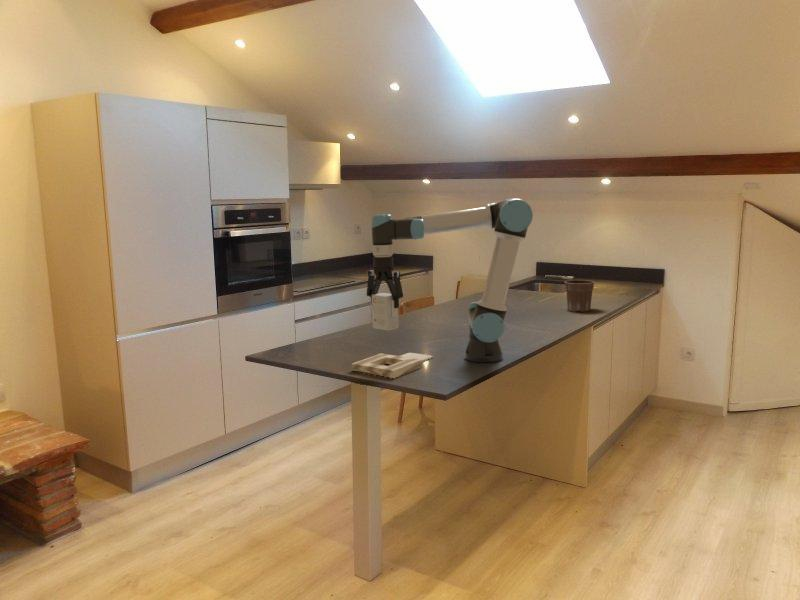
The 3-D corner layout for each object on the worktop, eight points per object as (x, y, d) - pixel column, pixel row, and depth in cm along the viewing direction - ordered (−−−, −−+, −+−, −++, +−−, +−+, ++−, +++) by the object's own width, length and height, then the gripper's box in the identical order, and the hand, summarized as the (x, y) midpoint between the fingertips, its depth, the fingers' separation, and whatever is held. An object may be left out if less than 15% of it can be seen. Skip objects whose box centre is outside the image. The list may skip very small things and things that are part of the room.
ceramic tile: (433, 357, 256) (433, 355, 256) (419, 363, 248) (419, 361, 248) (409, 354, 263) (409, 352, 263) (395, 359, 255) (394, 357, 255)
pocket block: (421, 367, 242) (421, 359, 242) (393, 378, 228) (393, 370, 228) (381, 360, 254) (380, 353, 254) (352, 371, 240) (351, 363, 240)
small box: (399, 327, 238) (398, 294, 236) (387, 330, 234) (386, 296, 231) (383, 325, 244) (382, 292, 241) (372, 328, 239) (371, 294, 237)
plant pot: (575, 306, 360) (575, 278, 357) (600, 309, 347) (600, 281, 345) (558, 310, 349) (558, 281, 347) (582, 314, 337) (583, 284, 334)
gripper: (355, 256, 237) (357, 314, 241) (399, 257, 225) (401, 319, 229) (367, 254, 243) (370, 311, 247) (411, 255, 231) (413, 316, 235)
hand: (385, 315), depth 238 cm, fingers closed on small box, 8 cm apart
